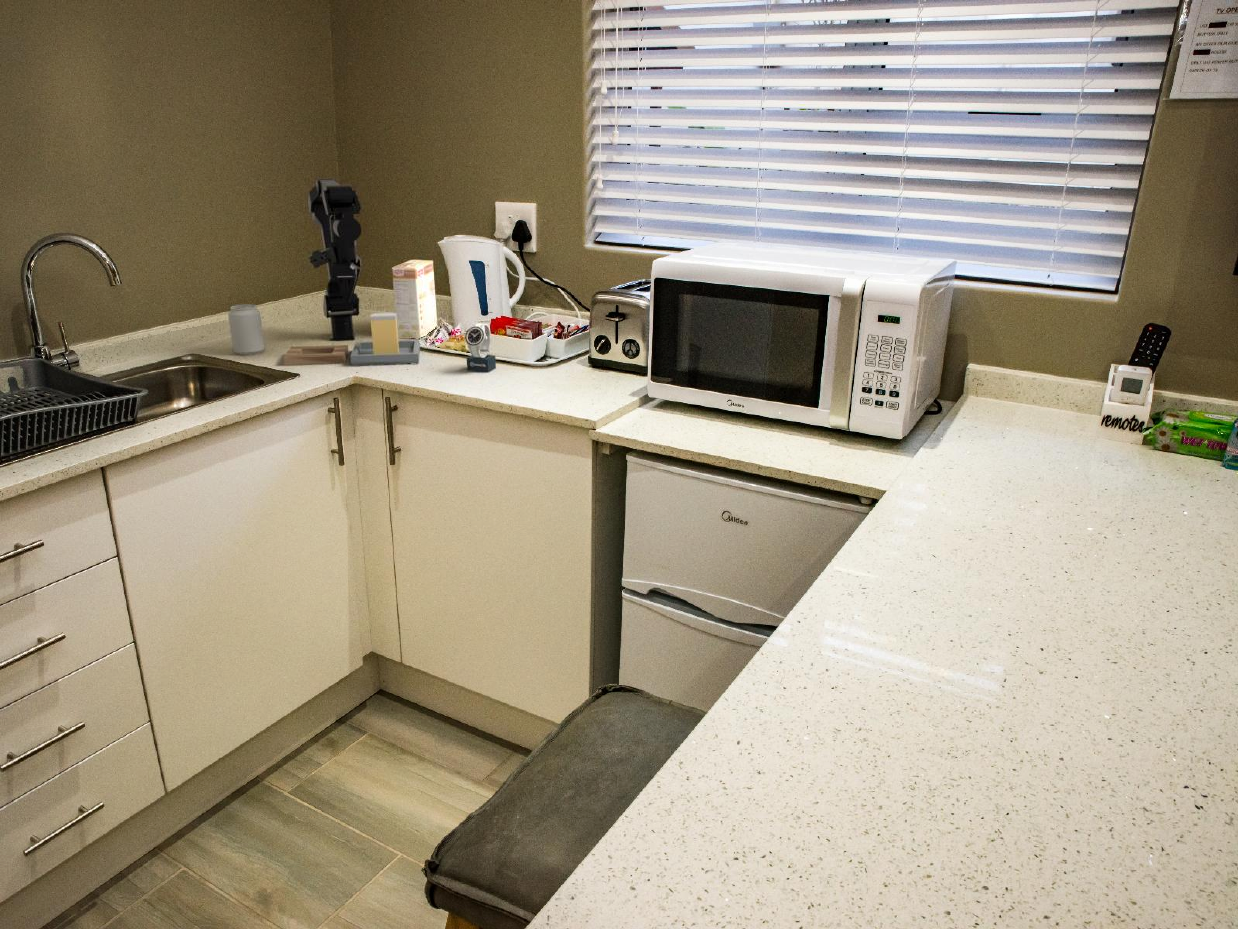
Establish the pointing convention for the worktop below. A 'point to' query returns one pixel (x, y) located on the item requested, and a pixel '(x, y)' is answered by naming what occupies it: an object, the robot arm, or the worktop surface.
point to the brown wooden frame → (316, 355)
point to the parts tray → (366, 357)
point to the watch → (479, 348)
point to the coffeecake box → (414, 298)
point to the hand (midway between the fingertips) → (349, 299)
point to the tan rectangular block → (384, 333)
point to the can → (246, 329)
